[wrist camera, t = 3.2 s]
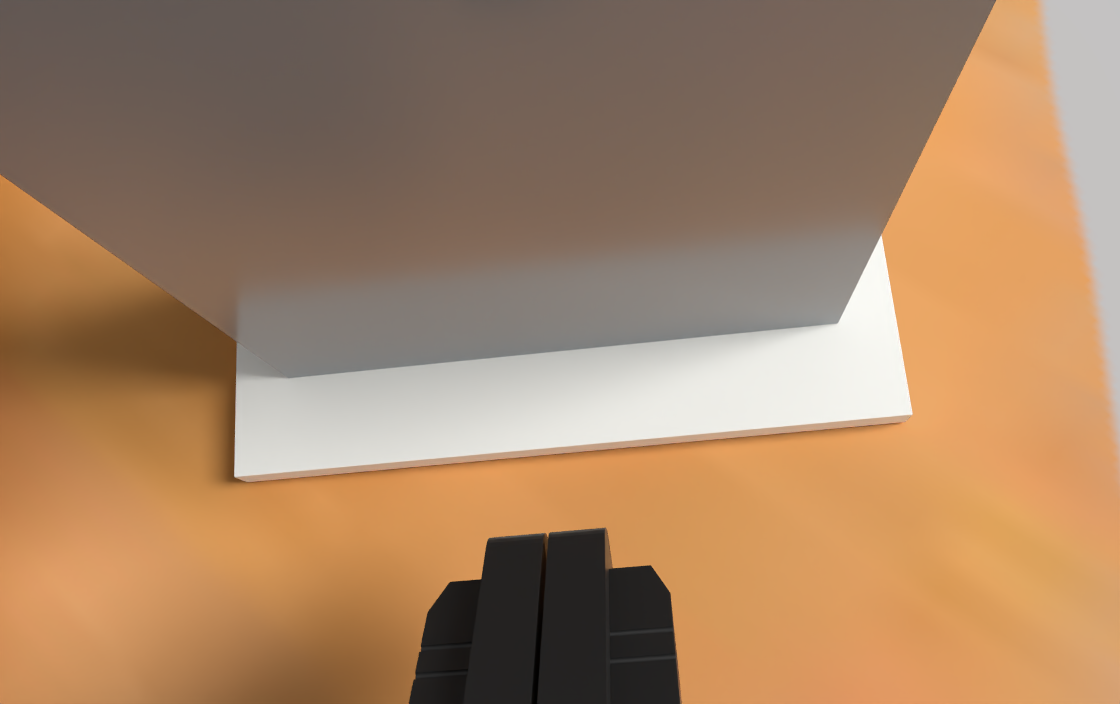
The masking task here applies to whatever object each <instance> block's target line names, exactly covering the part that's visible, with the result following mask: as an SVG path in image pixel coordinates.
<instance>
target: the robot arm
mask: <svg viewBox="0 0 1120 704" xmlns="http://www.w3.org/2000/svg"><path fill="white" fill-rule="evenodd" d="M415 674H416V679H415V680H414V681H413V686H412V691H411V696H410V700H409V704H682V702H681V691H680V680H679V671H678V661H677V652H676V642H675V633H674V624H673V614H672V605H671V595H670V592H669V590H668V589H667V588H666V586H665V585H664V583H663V582H662V581H661V579H660V578H659V576H658V575H657V574H656V572H655V571H654V569H653V568H652V566H651V565H650V566H637V567H625V568H613V567H612V560H611V553H610V545H609V539H608V533H607V529H606V528H597V529H585V530H574V531H562V532H550V533H549V537H547V535H546V533H541V534H529V535H518V536H506V537H494V538H489V539H488V541H487V545H486V552H485V558H484V565H483V572H482V579H481V580H469V581H456V582H450V583H449V584H448V585H447V587H446V588H445V590H444V591H443V592H442V594H441V595H440V596H439V598H438V599H437V600H436V602H435V603H434V604H433V606H432V607H431V609H430V610H429V611H428V614H427V618H426V623H425V628H424V633H423V638H422V643H421V652H419V657H418V662H417V667H416V671H415Z"/></svg>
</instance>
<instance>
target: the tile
mask: <svg viewBox="0 0 1120 704" xmlns="http://www.w3.org/2000/svg"><path fill="white" fill-rule="evenodd" d="M995 1H996V0H0V174H1V175H2V176H3V177H5V178H6V179H8V180H9V181H10V182H12V183H13V184H15V185H16V186H17V187H19V188H20V189H22V190H23V191H25V192H26V193H27V194H29V195H30V196H32V197H33V198H34V199H36V200H37V201H39V202H40V203H41V204H43V205H44V206H46V207H47V208H49V209H50V210H51V211H53V212H54V213H56V214H57V215H58V216H60V217H61V218H63V219H64V220H66V221H67V222H68V223H70V224H71V225H73V226H74V227H75V228H77V229H78V230H80V231H81V232H82V233H84V234H85V235H87V236H88V237H90V238H91V239H92V240H94V241H95V242H97V243H98V244H99V245H101V246H102V247H104V248H105V249H106V250H108V251H109V252H111V253H112V254H114V255H115V256H116V257H118V258H119V259H121V260H122V261H123V262H125V263H126V264H128V265H129V266H131V267H132V268H133V269H135V270H136V271H138V272H139V273H140V274H142V275H143V276H145V277H146V278H147V279H149V280H150V281H152V282H153V283H155V284H156V285H157V286H159V287H160V288H162V289H163V290H164V291H166V292H167V293H169V294H170V295H171V296H173V297H174V298H176V299H177V300H179V301H180V302H181V303H183V304H184V305H186V306H187V307H188V308H190V309H191V310H193V311H194V312H195V313H197V314H198V315H200V316H201V317H203V318H204V319H205V320H207V321H208V322H210V323H211V324H212V325H214V326H215V327H217V328H218V329H220V330H221V331H222V332H224V333H225V334H227V335H228V336H229V337H231V338H232V339H234V340H235V341H236V342H238V343H239V344H241V345H242V346H244V347H245V348H246V349H248V350H249V351H251V352H252V353H253V354H255V355H256V356H258V357H259V358H260V359H262V360H263V361H265V362H266V363H268V364H269V365H270V366H272V367H273V368H275V369H276V370H277V371H279V372H280V373H282V374H283V375H284V376H286V377H287V378H296V377H306V376H316V375H326V374H336V373H346V372H356V371H366V370H376V369H386V368H396V367H406V366H416V365H426V364H436V363H446V362H456V361H466V360H476V359H486V358H496V357H506V356H516V355H526V354H536V353H546V352H557V351H567V350H577V349H587V348H597V347H607V346H617V345H627V344H637V343H647V342H657V341H667V340H677V339H687V338H697V337H707V336H717V335H727V334H737V333H747V332H757V331H767V330H777V329H787V328H797V327H807V326H817V325H827V324H837V323H838V322H839V320H840V318H841V316H842V314H843V312H844V310H845V308H846V306H847V304H848V302H849V300H850V298H851V296H852V294H853V292H854V290H855V288H856V286H857V284H858V281H859V279H860V277H861V275H862V273H863V271H864V269H865V267H866V265H867V263H868V261H869V259H870V257H871V255H872V253H873V251H874V249H875V247H876V245H877V243H878V241H879V239H880V236H881V234H882V232H883V230H884V228H885V226H886V224H887V222H888V220H889V218H890V216H891V214H892V212H893V210H894V208H895V206H896V204H897V202H898V200H899V198H900V196H901V194H902V192H903V189H904V187H905V185H906V183H907V181H908V179H909V177H910V175H911V173H912V171H913V169H914V167H915V165H916V163H917V161H918V159H919V157H920V155H921V153H922V151H923V149H924V147H925V144H926V142H927V140H928V138H929V136H930V134H931V132H932V130H933V128H934V126H935V124H936V122H937V120H938V118H939V116H940V114H941V112H942V110H943V108H944V106H945V104H946V102H947V100H948V97H949V95H950V93H951V91H952V89H953V87H954V85H955V83H956V81H957V79H958V77H959V75H960V73H961V71H962V69H963V67H964V65H965V63H966V61H967V59H968V57H969V55H970V52H971V50H972V48H973V46H974V44H975V42H976V40H977V38H978V36H979V34H980V32H981V30H982V28H983V26H984V24H985V22H986V20H987V18H988V16H989V14H990V12H991V10H992V8H993V5H994V3H995Z"/></svg>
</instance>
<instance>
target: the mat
mask: <svg viewBox="0 0 1120 704" xmlns="http://www.w3.org/2000/svg"><path fill="white" fill-rule="evenodd" d="M912 415H913V414H912V408H911V403H910V397H909V391H908V385H907V380H906V374H905V368H904V362H903V357H902V351H901V345H900V339H899V334H898V328H897V322H896V316H895V311H894V305H893V299H892V293H891V288H890V282H889V276H888V270H887V265H886V259H885V253H884V247H883V242H882V236H880V239H879V241H878V243H877V245H876V247H875V249H874V251H873V253H872V255H871V257H870V259H869V261H868V263H867V265H866V267H865V269H864V271H863V273H862V275H861V277H860V279H859V281H858V284H857V286H856V288H855V290H854V292H853V294H852V296H851V298H850V300H849V302H848V304H847V306H846V308H845V310H844V312H843V314H842V316H841V318H840V320H839V322H838V323H837V324H827V325H817V326H807V327H797V328H787V329H777V330H767V331H757V332H747V333H737V334H727V335H717V336H707V337H697V338H687V339H677V340H667V341H657V342H647V343H637V344H627V345H617V346H607V347H597V348H587V349H577V350H567V351H557V352H546V353H536V354H526V355H516V356H506V357H496V358H486V359H476V360H466V361H456V362H446V363H436V364H426V365H416V366H406V367H396V368H386V369H376V370H366V371H356V372H346V373H336V374H326V375H316V376H306V377H296V378H287V377H286V376H284V375H283V374H282V373H280V372H279V371H277V370H276V369H275V368H273V367H272V366H270V365H269V364H268V363H266V362H265V361H263V360H262V359H260V358H259V357H258V356H256V355H255V354H253V353H252V352H251V351H249V350H248V349H246V348H245V347H244V346H242V345H241V344H239V343H238V342H237V362H236V414H235V466H234V477H236V478H238V479H241V480H243V481H246V482H256V481H267V480H278V479H288V478H299V477H310V476H321V475H332V474H343V473H354V472H365V471H376V470H387V469H398V468H409V467H420V466H430V465H441V464H452V463H463V462H474V461H485V460H496V459H507V458H518V457H529V456H540V455H551V454H562V453H572V452H583V451H594V450H605V449H616V448H627V447H638V446H649V445H660V444H671V443H682V442H693V441H703V440H714V439H725V438H736V437H747V436H758V435H769V434H780V433H791V432H802V431H813V430H824V429H835V428H845V427H856V426H867V425H878V424H889V423H900V422H906V421H907V420H908V419H909V418H910V417H911V416H912Z"/></svg>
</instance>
